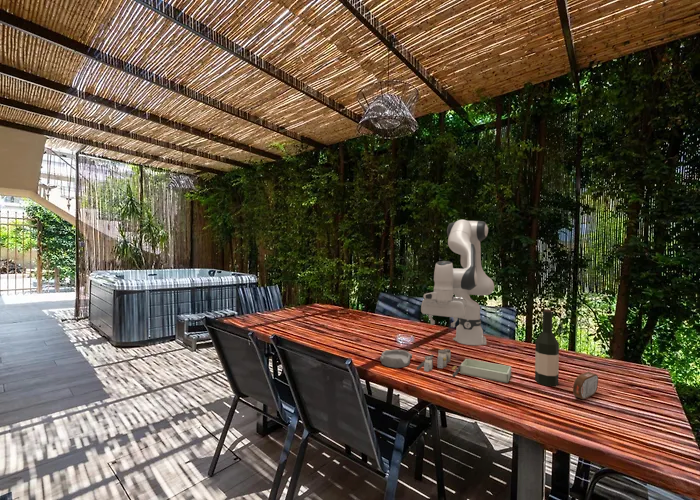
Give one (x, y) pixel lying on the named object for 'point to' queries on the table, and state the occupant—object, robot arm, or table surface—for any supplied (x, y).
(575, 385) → the tin
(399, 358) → the dish
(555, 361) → the wine bottle
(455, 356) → the table surface
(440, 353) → the cylinder
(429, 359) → the fuse cartridge near camera
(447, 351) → the fuse cartridge near arm
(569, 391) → the table surface
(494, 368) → the tray
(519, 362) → the table surface
